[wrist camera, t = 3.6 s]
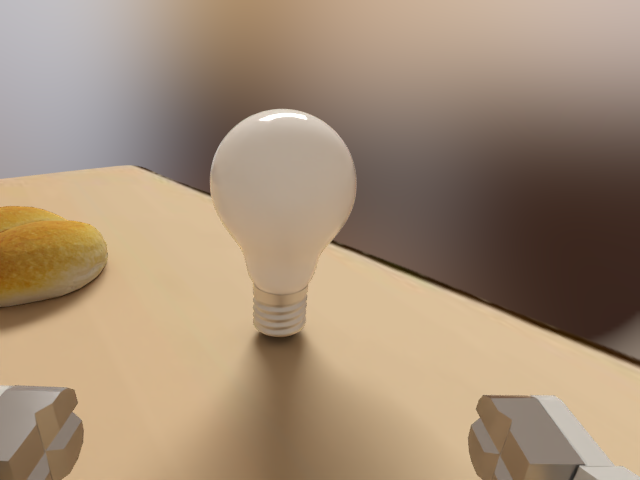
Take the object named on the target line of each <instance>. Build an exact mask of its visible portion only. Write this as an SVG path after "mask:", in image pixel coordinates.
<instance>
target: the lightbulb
mask: <svg viewBox="0 0 640 480" xmlns="http://www.w3.org/2000/svg"><path fill="white" fill-rule="evenodd" d="M210 190H211V197H212V201H213V205H214V208H215V210H216V212H217V215H218V217H219V218H220V220H221V222H222V224H223V225H224V227H225V228H226V230H227V231H228V232H229V234H230V235H231V236H232V238H233V239H234V240H235V241H236V243H237V244H238V246H239V247H240V249H241V250H242V252H243V255H244V258H245V263H246V268H247V271H248V274H249V277H250V278H251V280H252V282H253V295H254V298H253V302H254V305H253V310H254V312H253V317H254V318H253V324H254V326H255V328H256V329H257V330H258V331H260V332H261V333H263V334H265V335H268V336H273V337H286V336H290V335H293V334H296V333H298V332H299V331H300V330H302V329H303V327H304V326H305V323H306V316H305V315H306V306H307V302H306V300H307V292H308V284H309V282H310V281H311V279H312V277H313V275H314V273H315V270H316V267H317V263H318V260H319V257H320V255H321V253H322V252H323V250H324V249H325V248H326V247H327V245H328V244H329V243H330V242H331V241H332V240H333V239H334V237H335V236H336V235H337V234H338V233H339V231H340V230H341V229H342V227H343V226H344V224H345V223H346V221H347V219H348V217H349V215H350V213H351V210H352V207H353V205H354V200H355V195H356V172H355V167H354V163H353V160H352V157H351V154H350V152H349V150H348V148H347V146H346V145H345V143H344V141H343V140H342V139H341V137H340V136H339V135H338V134H337V133H336V132H335V131H334V130H333V129H332V128H331V127H330V126H329V125H328V124H326V123H325V122H323V121H322V120H320V119H318V118H316V117H315V116H312V115H310V114H308V113H305V112H301V111H297V110H291V109H274V110H267V111H264V112H260V113H257V114H254V115H252V116H250V117H248V118H246V119H244V120H243V121H241V122H240V123H239V124H237V125H236V126H235V127H234V128H233V129H232V130H231V131H230V132H229V133H228V134H227V135H226V136H225V138H224V139H223V140H222V142H221V144H220V145H219V147H218V149H217V151H216V154H215V156H214V159H213V163H212V167H211V173H210Z"/></svg>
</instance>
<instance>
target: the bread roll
mask: <svg viewBox="0 0 640 480" xmlns="http://www.w3.org/2000/svg"><path fill="white" fill-rule="evenodd" d="M107 258H108V252H107V245H106V242H105V241H104V239H103V237H102V235H101V234H100V232H99V231H98V230H97V229H96V228H95V227H93V226H91V225H90V224H86V223H82V222H77V221H68V220H66V219H64V218H63V217H61V216H59V215H56V214H54V213H51V212H48V211H46V210H43V209H38V208H34V207H20V206H6V207H0V307H7V306H14V305H19V304H26V303H31V302H36V301H41V300H46V299H50V298H54V297H59V296H63V295H65V294H68V293H70V292H73V291H75V290H77V289H80V288H82V287H83V286H85V285H86V284H88V283H89V282H91V281H92V280H93V279H95V278H96V277H97V276H98V275H99V274H100V273H101V271H102V269H103V268H104V266H105V265H106V262H107Z"/></svg>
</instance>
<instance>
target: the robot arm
mask: <svg viewBox="0 0 640 480" xmlns="http://www.w3.org/2000/svg"><path fill="white" fill-rule="evenodd" d="M77 404H78V401H77V397H76V394H75V390H73V389H70V388H64V387H41V386H17V385H15V386H4V385H0V480H62V479H63V478H64V477H66V476H67V475H68V474H70V472H71V471H72V469H73V467H74V465H75V463H76V461H77V460H78V457H79V454H80V451H81V447H82V444H83V435H84V429H83V424H82V420H81V419H80V418H79V417H78V416H76V415H75V414H74V413H73V412H72V411H73V410H74V408H75V407H76V405H77ZM476 411H477V412H478V414H479V416H480V418H479V419H478V420H477V421H476V422H474V423H473V424H472V425H471V428H470V432H469V436H468V446H469V454H470V458H471V462H472V464H473V467H474V469H475V471H476V474H477V475H478V476H479V477H480V478H481V479H482V480H640V477H639V476H637V475H636V474H634V473H633V472H631V471H630V470H628V469H626V468H625V467H623V466H615V465H614V464H613V463H612V462H611V461H610V459H609V458H608V457H607V456H606V454H605V453H604V452H603V451H602V449H601V448H600V447H599V446H598V445H597V443H596V442H595V441H594V440H593V438H592V437H591V436H590V435H589V433H588V432H587V431H586V430H585V429H584V427H583V426H582V425H581V424H580V422H579V421H578V420H577V419H576V417H575V416H574V415H573V414H572V413H571V411H570V410H569V409H568V408H567V406H566V405H565V404H564V403H563V401H562V400H560V399H559V398H557V397H556V396H541V395H531V396H523V395H483V396H482V397H481V398H480V399H479V401H478V404H477V407H476Z"/></svg>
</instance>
